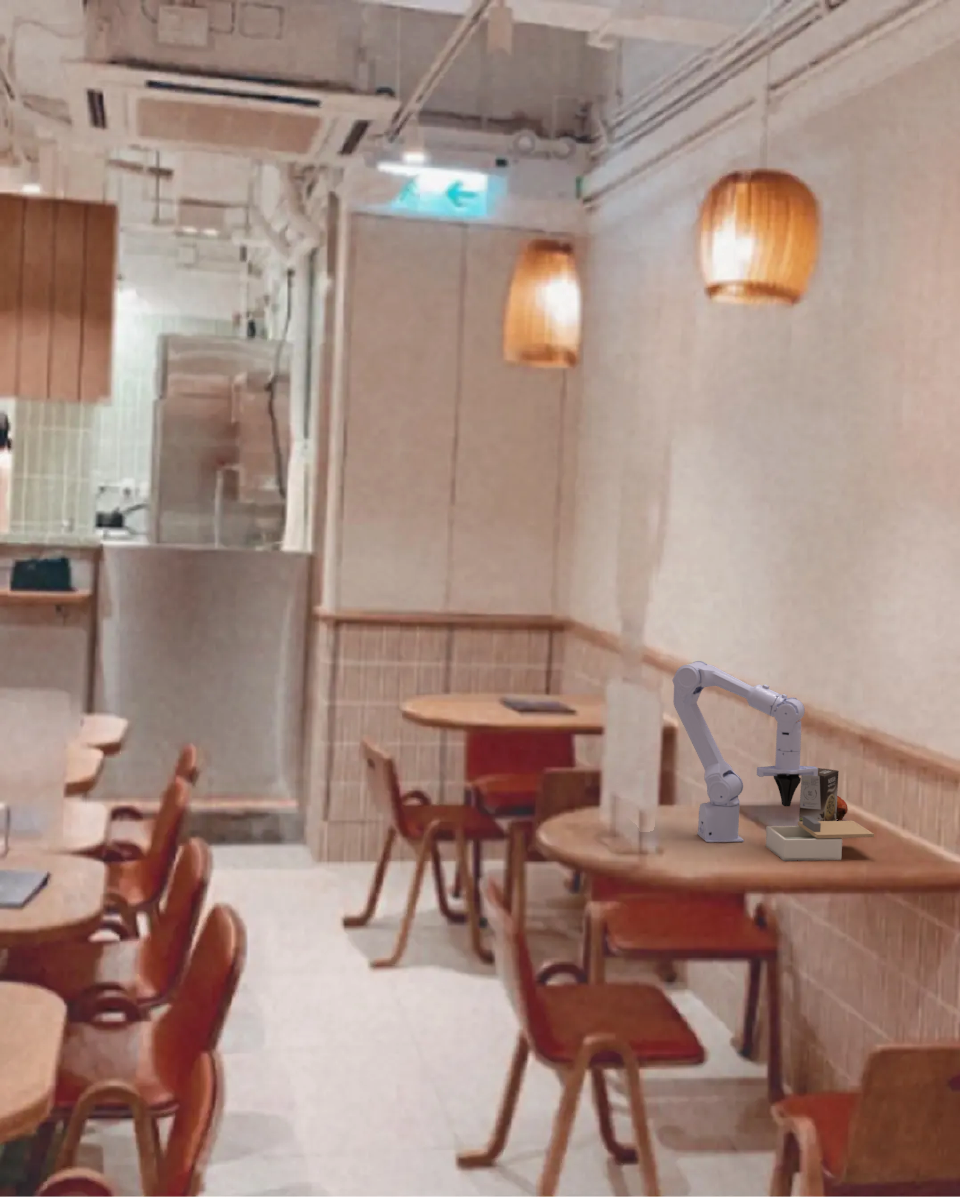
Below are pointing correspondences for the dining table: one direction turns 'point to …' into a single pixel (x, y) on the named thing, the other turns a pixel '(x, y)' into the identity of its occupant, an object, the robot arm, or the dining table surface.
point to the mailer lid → (834, 828)
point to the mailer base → (801, 844)
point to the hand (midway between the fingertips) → (785, 805)
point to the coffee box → (819, 795)
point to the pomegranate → (841, 808)
